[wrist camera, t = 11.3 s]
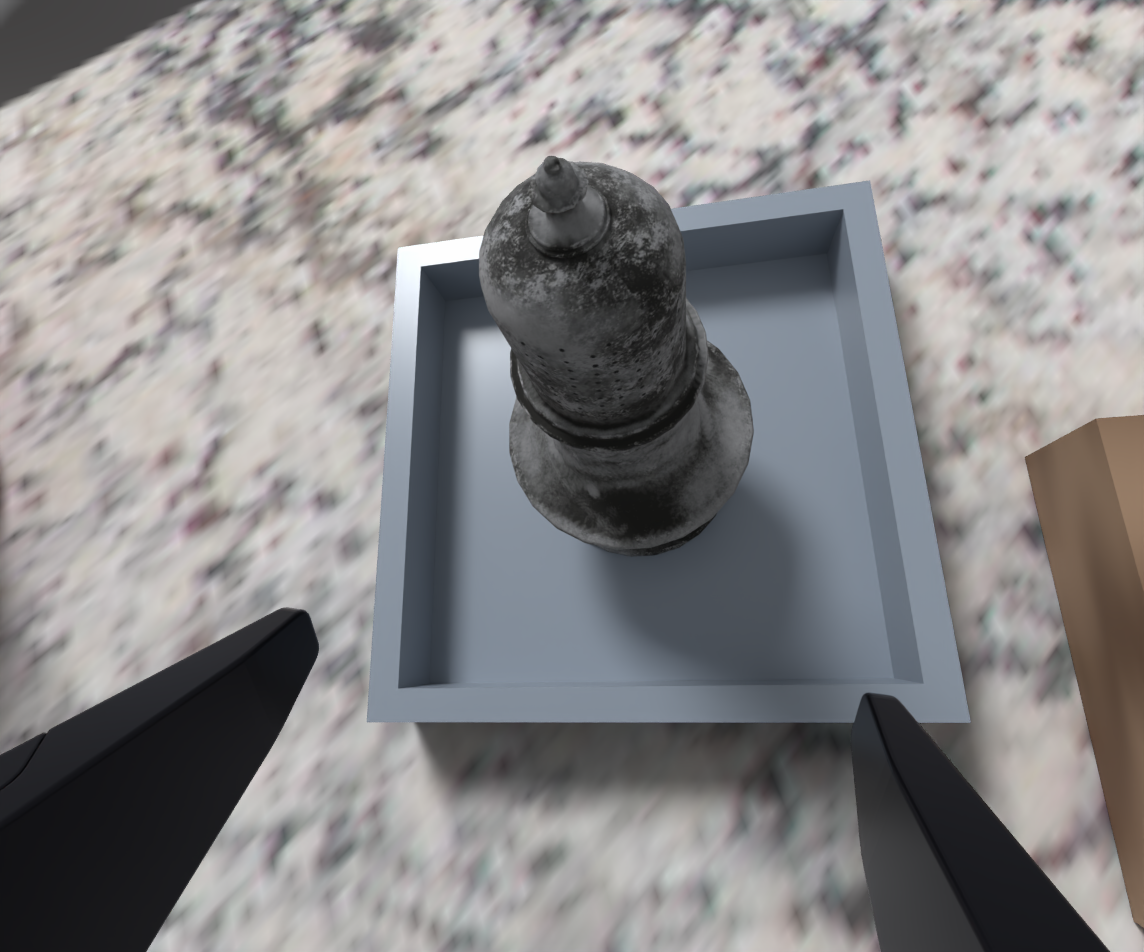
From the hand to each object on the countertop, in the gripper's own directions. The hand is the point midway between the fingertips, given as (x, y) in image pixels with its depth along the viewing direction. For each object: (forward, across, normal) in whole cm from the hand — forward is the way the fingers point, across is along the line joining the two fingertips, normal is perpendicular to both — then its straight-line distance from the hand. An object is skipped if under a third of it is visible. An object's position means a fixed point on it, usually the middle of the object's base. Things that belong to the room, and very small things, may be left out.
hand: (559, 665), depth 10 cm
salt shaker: (+9, 0, +1) cm, 9 cm away
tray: (+10, 0, +2) cm, 10 cm away
